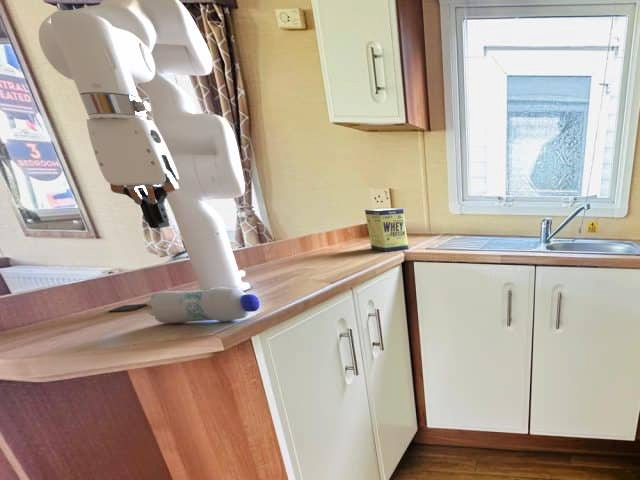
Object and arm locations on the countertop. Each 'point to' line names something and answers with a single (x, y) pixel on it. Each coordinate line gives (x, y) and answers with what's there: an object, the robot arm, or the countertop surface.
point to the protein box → (387, 229)
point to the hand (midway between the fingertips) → (160, 227)
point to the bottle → (202, 305)
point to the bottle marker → (128, 308)
